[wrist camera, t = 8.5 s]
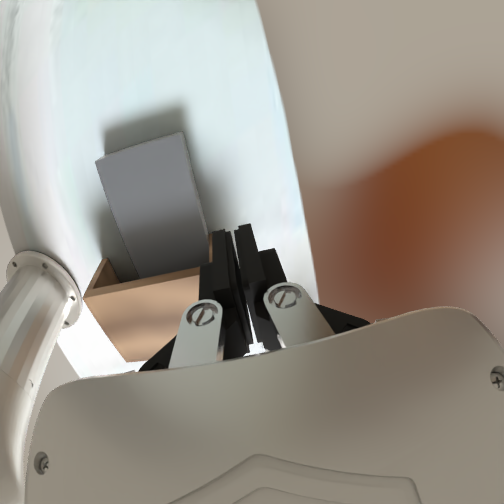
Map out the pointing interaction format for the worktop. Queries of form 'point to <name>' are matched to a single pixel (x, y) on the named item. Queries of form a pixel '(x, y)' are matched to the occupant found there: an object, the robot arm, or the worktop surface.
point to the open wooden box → (141, 308)
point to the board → (156, 205)
